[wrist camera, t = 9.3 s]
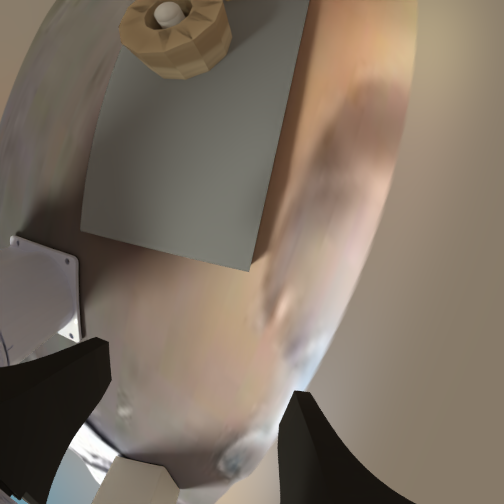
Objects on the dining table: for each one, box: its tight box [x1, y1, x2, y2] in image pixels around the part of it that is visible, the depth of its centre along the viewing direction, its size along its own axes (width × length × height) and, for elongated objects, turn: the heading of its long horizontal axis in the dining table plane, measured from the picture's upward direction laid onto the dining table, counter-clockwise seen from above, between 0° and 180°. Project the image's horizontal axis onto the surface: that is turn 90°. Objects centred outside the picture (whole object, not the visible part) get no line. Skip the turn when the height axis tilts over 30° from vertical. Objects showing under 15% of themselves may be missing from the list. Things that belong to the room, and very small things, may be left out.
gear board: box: [80, 0, 310, 272], centre depth 12 cm, size 12×26×6 cm, turn 168°
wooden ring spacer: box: [119, 0, 232, 80], centre depth 11 cm, size 6×6×4 cm
